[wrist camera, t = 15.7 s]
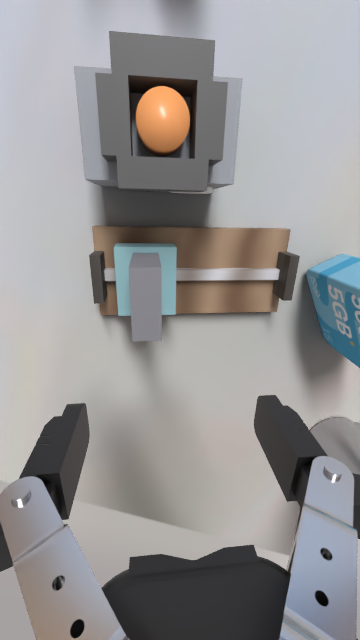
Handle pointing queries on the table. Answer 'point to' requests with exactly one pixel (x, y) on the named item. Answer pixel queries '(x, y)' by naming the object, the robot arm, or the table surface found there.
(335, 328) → the data package
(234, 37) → the table surface
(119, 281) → the carriage
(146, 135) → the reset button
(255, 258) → the rail base
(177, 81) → the grey dispenser housing
